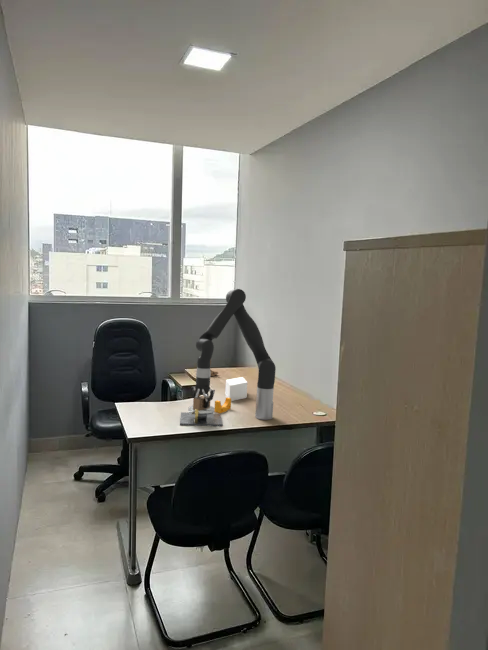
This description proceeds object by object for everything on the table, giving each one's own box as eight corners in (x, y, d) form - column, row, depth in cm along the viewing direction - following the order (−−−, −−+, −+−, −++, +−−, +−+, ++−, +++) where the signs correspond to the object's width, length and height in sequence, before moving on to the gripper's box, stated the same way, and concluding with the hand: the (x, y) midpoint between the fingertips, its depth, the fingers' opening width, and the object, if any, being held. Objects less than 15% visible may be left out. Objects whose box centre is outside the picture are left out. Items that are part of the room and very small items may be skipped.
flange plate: (198, 405, 275) (199, 392, 274) (219, 410, 267) (220, 397, 267) (179, 412, 260) (180, 398, 260) (201, 417, 253) (201, 403, 252)
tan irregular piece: (193, 374, 380) (194, 355, 379) (202, 372, 391) (203, 353, 389) (210, 377, 373) (211, 358, 371) (218, 375, 383) (219, 356, 382)
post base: (220, 415, 277) (221, 407, 276) (222, 426, 257) (222, 417, 256) (181, 414, 274) (181, 405, 274) (179, 425, 255) (180, 416, 254)
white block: (252, 393, 333) (252, 378, 332) (240, 403, 306) (241, 386, 304) (231, 390, 337) (232, 375, 336) (218, 400, 309) (219, 384, 308)
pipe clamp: (220, 413, 280) (220, 402, 280) (214, 411, 283) (214, 400, 282) (233, 409, 290) (233, 398, 289) (227, 408, 293) (227, 397, 292)
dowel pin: (197, 422, 258) (198, 409, 257) (197, 423, 256) (198, 410, 256) (194, 422, 258) (195, 409, 257) (194, 423, 256) (195, 409, 256)
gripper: (218, 376, 264) (216, 407, 266) (194, 373, 269) (193, 403, 271) (212, 379, 257) (210, 410, 259) (188, 375, 262) (186, 406, 264)
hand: (201, 407), depth 265 cm, fingers open, 5 cm apart
